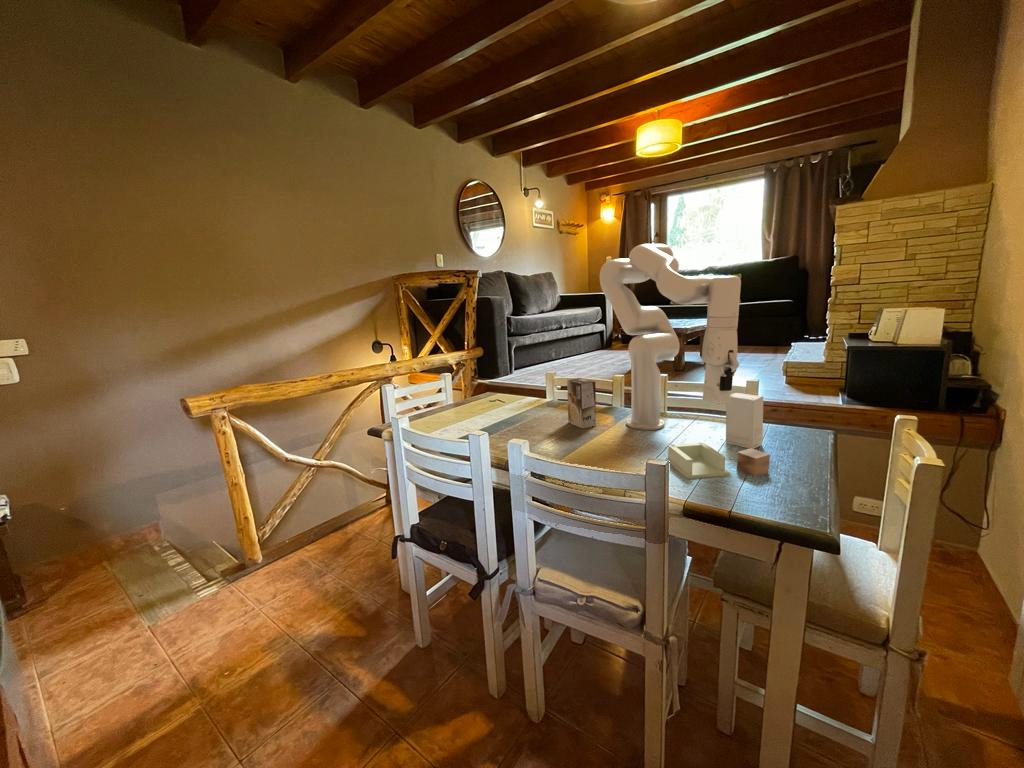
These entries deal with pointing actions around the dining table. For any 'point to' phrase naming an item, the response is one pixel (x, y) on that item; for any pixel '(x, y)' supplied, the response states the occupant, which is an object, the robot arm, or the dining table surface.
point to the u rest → (697, 460)
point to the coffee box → (581, 402)
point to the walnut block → (753, 462)
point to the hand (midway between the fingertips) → (717, 386)
